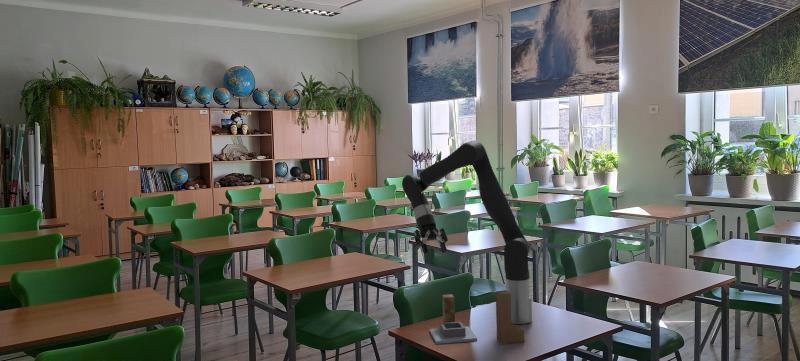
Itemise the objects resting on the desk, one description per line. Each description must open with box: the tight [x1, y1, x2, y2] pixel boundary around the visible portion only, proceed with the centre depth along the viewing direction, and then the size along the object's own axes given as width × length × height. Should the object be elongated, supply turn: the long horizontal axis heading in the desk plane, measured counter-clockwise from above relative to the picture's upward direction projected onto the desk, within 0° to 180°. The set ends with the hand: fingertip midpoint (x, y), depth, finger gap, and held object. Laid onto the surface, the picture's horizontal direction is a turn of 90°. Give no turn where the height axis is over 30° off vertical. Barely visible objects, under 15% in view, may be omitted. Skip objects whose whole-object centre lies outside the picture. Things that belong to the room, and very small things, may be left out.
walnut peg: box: [441, 293, 456, 323], centre depth 231 cm, size 4×4×12 cm
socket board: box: [429, 321, 478, 345], centre depth 220 cm, size 15×14×4 cm
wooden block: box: [495, 290, 525, 345], centre depth 211 cm, size 9×4×18 cm, turn 97°
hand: (435, 253), depth 239 cm, fingers open, 8 cm apart
